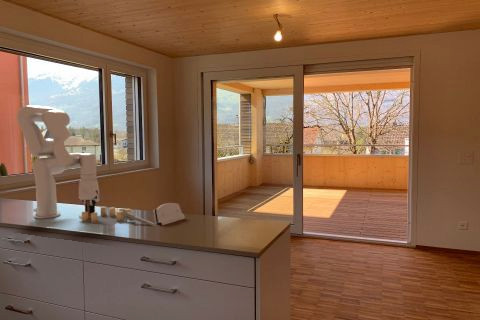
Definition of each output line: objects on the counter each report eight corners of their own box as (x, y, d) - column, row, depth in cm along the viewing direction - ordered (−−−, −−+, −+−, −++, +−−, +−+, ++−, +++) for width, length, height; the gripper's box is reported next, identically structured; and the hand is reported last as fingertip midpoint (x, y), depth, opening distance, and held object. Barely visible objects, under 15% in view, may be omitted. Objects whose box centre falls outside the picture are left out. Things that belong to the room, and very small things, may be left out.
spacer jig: (78, 223, 179) (77, 213, 178) (104, 215, 195) (103, 206, 195) (110, 226, 171) (109, 216, 171) (134, 218, 188) (134, 208, 188)
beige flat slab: (162, 225, 173) (156, 205, 174) (155, 227, 176) (150, 207, 177) (185, 218, 187) (180, 199, 188) (179, 220, 190) (174, 201, 191)
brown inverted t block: (82, 218, 184) (82, 200, 184) (93, 215, 191) (93, 199, 191) (87, 218, 183) (87, 201, 183) (97, 216, 190) (97, 199, 190)
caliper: (121, 221, 180) (121, 209, 179) (122, 221, 181) (122, 209, 180) (155, 226, 172) (155, 214, 171) (156, 226, 173) (156, 213, 172)
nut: (76, 219, 187) (76, 215, 187) (85, 217, 193) (85, 213, 192) (84, 220, 185) (84, 216, 185) (92, 217, 191) (92, 214, 191)
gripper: (71, 177, 185) (72, 212, 186) (95, 178, 179) (96, 215, 181) (82, 175, 192) (83, 209, 193) (106, 177, 186) (107, 212, 188)
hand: (90, 212), depth 187 cm, fingers closed on brown inverted t block, 2 cm apart
